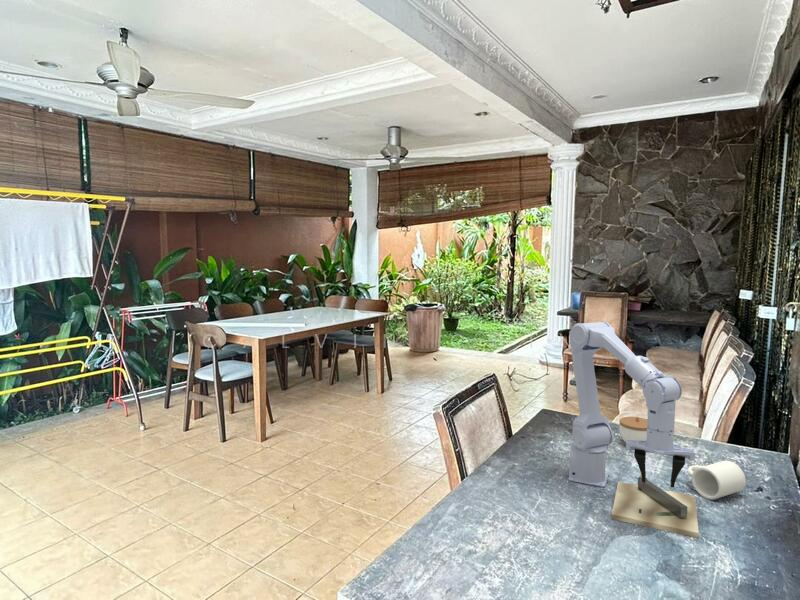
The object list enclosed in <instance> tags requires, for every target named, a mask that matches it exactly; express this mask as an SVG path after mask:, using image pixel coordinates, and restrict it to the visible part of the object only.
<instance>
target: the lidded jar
mask: <svg viewBox="0 0 800 600" xmlns="http://www.w3.org/2000/svg"><path fill="white" fill-rule="evenodd" d="M619 432H620V437H621V438H622V440H623V441H624V443H626V440H637V441H646V439H647V418H644V417H640V416H623V417H621V418H620V419H619Z"/></svg>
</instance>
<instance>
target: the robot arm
mask: <svg viewBox="0 0 800 600" xmlns="http://www.w3.org/2000/svg"><path fill="white" fill-rule="evenodd" d="M568 334H569V341H570V347H571V348H570V349H571V358H572V366H573V373H574V380H575V381H574V382H575V387H576V394H577V404H578V408H579V410H578V411H579V414H578V415H577V417H576V418H575V419H574V420H573V421H572V428H573V429H572V433H571V436H572V441H573V444H572V445H570V451H569V467H568V481H570V482H575V483H580V484H586V485H591V486H596V487H600V488H601V487H602V488H605V487H606V485H607V480H608V476H609V475H608V474H607V473H606V460H607V450H609V446H610V445H611V444H612V443H613V440H614V432H613V430H612V428H611V425H610V423H609V418H608V417H606V416H605V415H604V414H603V413H601V407H600V399H599V393H598V385H597V377H596V372H595V365H594V364H595V363H594V355H595V354H596V353H597V352H598V351H599V350H600V349H601V348H604V349H605V350H606V351H608V352H609V353H610V354H611V355H613V357H615V358H616V359H617V360H618V361H620V362H621V363H622V364H624V371H625V373H626V374H627V375H628V376H629V377H630V378H631V379H632V380H633V381H634V382H635V383H636V384H638V386H639V387H640V388H641V389H642V394H643V397H644V398H645V406H646V408H647V418H646V419H647V439H646V441H637V440H626V442H625V450H626V451H633V456H634V458H635V461H636V463H637V466H638V469H639V471H640V474H641V475H640V476H642V482H645V479H646V478H647V477H646V476H647V475H646V474H647V473H646V458H647V457H646V456H647V453H650V454H655V455H659V456H670V457H672V464H671V465H672V466H671V467H672V468H671V473H670V474H671V475H670V488H673V489H674V488H675V484H676V481H677V478H678V476H679V474H680V472H681V471H682V469H683V468H684V466H686V465H685V464H686V459H688V460H689V461H694V462H695V461H696V459H695V458H696V450H695V449H691V448H686V447H684V446H683V447H682V446H678V445H675V444H674V440H675V439H674V437H675V423H676V421H675V419H676V418H675V416H676V401H678V400H679V399H681V397H682V395H683V389H682V385H681V383H680V382H679V380H677V378H676V377H674V376H672V375H666V374H664V372H662V371H661V370H660V369H658V368H657V367H656V366H655V365H654V364H652V363H651V361H650V359H649V358H648V357H647V356H643V355H636V354H635V353H634V352H633V351H632V350H631V349H630V348H629V347H628V346H627V345H626V344H625V342H623V341H622V340H621V339H620V338H619V336H617V334H616V329H615V327H613V326H612V325H611V324H610V323H609V322H607V321H605V320H603V321H597V322H585V323H584V322H582V323H581V322H578V323H575V324H574V325H573V326H572V327H571V329H570V330H569V332H568Z"/></svg>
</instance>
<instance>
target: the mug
mask: <svg viewBox="0 0 800 600" xmlns="http://www.w3.org/2000/svg"><path fill="white" fill-rule="evenodd" d="M686 473H687V475H689V477H691V481H692V485H693V488H694V490H696V492H697V493H698V494H699V495H700V496H701V497H703V498H704V499H707V500H712V501H713V500H717V499H720V498H722V497H726V496H729V495H732V494H735V493H739V492H741V491H743V489H745V486H746V482H747V481H746V480H747V479H746V476H745V473H744V472H743V469H741V468H740V466H738V465H737V463H735V462H732V461H730V460H721V461H718V462H715V463H711V464H710V463H709V464H707V465H697V464H694V465H691V466H690V465H689V466H688V468H687V469H686Z"/></svg>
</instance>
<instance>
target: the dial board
mask: <svg viewBox="0 0 800 600" xmlns="http://www.w3.org/2000/svg"><path fill="white" fill-rule="evenodd" d="M616 485H617V486H616V490H615V496H614V500H613V505H612V511H611V520H613V521H619V522H624V523H629V524H633V525H637V526H641V527H646V528H651V529H656V530H660V531H665V532H668V533H674V534H679V535H682V536H687V537H692V538H695V539H696V538H697V539H699V538H700V537H699V535H700V534H699V533H700V531H699V523H698V515H697V506H696V500H695V499H696V497H695V495H691V494H686V493H680V492H676V491H670V490H664V489H662V490H663V491H665V492H666V493H668V494H669V495H671V496H672V497H674V498H675V499H676V500H678V501H679V502H681V503H682V504H684V505H685V506H687V518H680V517H679V516H677V515H676V514H674V513H673V512H672V511H670V510H669V509H667V508H666V507H665V506H663V505H662V504H660V503H659V502H658V501H656V500H655V499H653V498H652V497H651V496H649V495H648V494H646V493H645V492H644V491H642V490H639V489H638V484H631V483H627V482H622V481H617V484H616Z"/></svg>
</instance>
